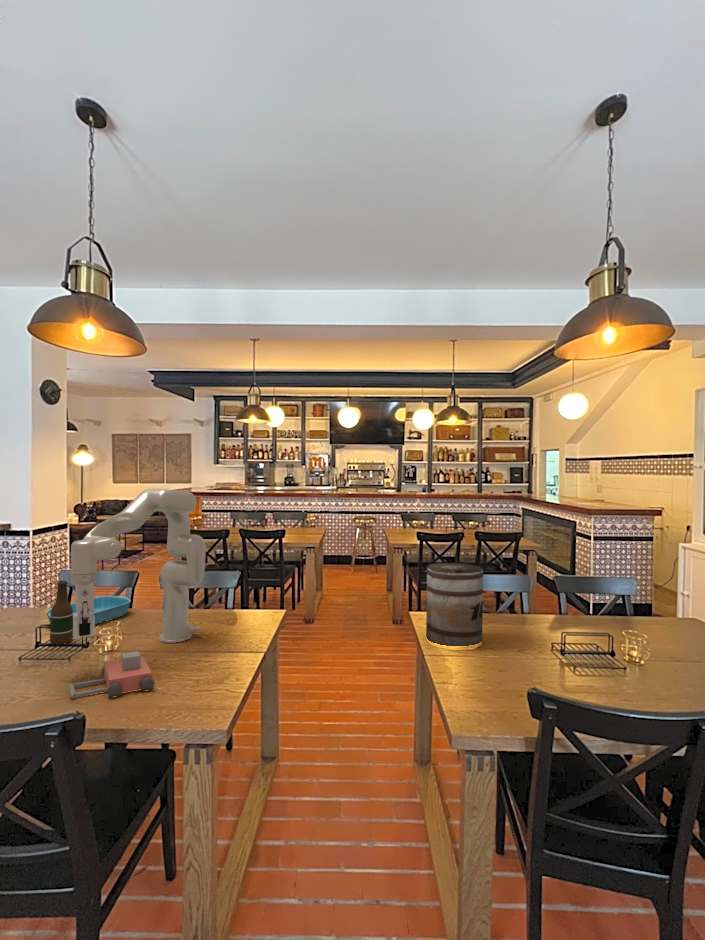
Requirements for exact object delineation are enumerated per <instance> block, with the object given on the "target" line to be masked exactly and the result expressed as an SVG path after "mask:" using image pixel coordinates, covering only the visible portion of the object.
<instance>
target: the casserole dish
mask: <svg viewBox="0 0 705 940" xmlns="http://www.w3.org/2000/svg"><path fill="white" fill-rule="evenodd" d="M131 602H132V599H129V598H128V597H127V596H122V595H120V596H119V595H102V596H101V595H100V596H96V597H95V596H94V613H92V612H91V613H90V611H89V613H90V614H94V617H95V626H96V624H97V625H99V624H98V623H100V622H103V621H106V620H110V619H113V618H116V619H118V618H117V617H119V618H121V617H122V616H124V615H126V613H127V612H128V611H129V608H130V605H131ZM70 604H71V606H72V609H73V613H77V608H76V601H75V602H72V603H70ZM51 609H52V608H50V609H48V610H46V612H45V613H46V615H47V618H48V621H49V622H50V614H51ZM120 616H121V617H120ZM113 620H114V619H113ZM110 621H111V620H110ZM103 623H104V622H103ZM100 624H101V623H100Z"/></svg>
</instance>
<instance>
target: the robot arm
mask: <svg viewBox="0 0 705 940" xmlns="http://www.w3.org/2000/svg"><path fill="white" fill-rule="evenodd" d="M197 503H198V502H197V497H196V496H195V495H194V494H193V493H192V492H190V491H181V490H174V489H168V488H167V489H165V488H147V489H144V490H143V491H141V492H140V493H139V494H138V495H137V496H136V497H135V498H134V499H133V500H132V501H131V502H130V503H129V504H128V505H127V506H126V507H125V508H124V509H123V510H121V512H119V513H117V514H115V515H113V516H111V517H109V518H108V519H105V520H104V521H102V522H100V523H98V524H96V526H95V527H94V526H93V528H92V529H91V530H90V531H89V532H88V533H87V534H86V535H85V536H84V537H83V539H80V540H79V539H78V540H75V541H73V542H72V543H71V545H70V583H71V585H75V586H74V588H75V591H74V597H75V598H74V600H75V602H76V608H77V613H78V614H79V615H80V624H79V636H85V635H90V618H89V614H90V613H91V612H92V613H94V598H95V589H94V588H95V587H94V586H95V585H94V584H95V583H96V582H97V580H98V579H97V577H98V576H97V574H98V573H97V569H98V568H97V567H98V566H97V564H98V563H97V562H98V561H105V560H113V559H115V558H117V557H118V556H119V555H120V554H121V553H122V548H123V547H122V543H121V542H120V540H118V539H117V538H114V537H116V536H119V535H122V534H126V533H130V532H133V531H135V530H138V529H140V528H141V527H142V526H143V525H144V524H145V522H146V521H147V520H148V519H150V517H151V516H152V515H153V514H154V513H155V512H162V513H163V514H164V515H165V517H166V519H167V527H168V528H167V540H166V541H167V543H166V550H167V553H168V554H169V556H172V557H176V558H183V559H184V558H186V560H181V559H180V560H179V559H172V560H168V561H167V562H165V563H164V564H163V565H162V567H161V571H160V573H161V574H160V575H161V580H162V586H163V606H162V607H163V615H162V616H163V617H162V618H163V619H162V621H163V622H162V624H163V625H162V633H161V634H159V636H158V640H159V641H160V642H161V643H166V644H167V643H169V644H175V643H176V642H177V643H182V641H183V642H186V641H188V640H190V639H191V638H192V636H193V635H192V633H193V632H200V631H201V626H195V625H193V626H192V625H190V626H189V591H188V587H196V586H199V585H200V584H201V583H202V582H203V579H204V577H205V570H206V566H205V565H206V554H207V553H206V551H207V549H206V548H207V546H206V542H205V539H204V538H203V537H202V536H200V535H199V534H191V520H190V515H189V513H191V512H193V511H194V510H195V508H196V507H197ZM187 586H188V587H187ZM89 611H90V613H89ZM81 612H83V614H81ZM82 616H83V617H82ZM187 639H188V640H187ZM185 640H186V641H185Z"/></svg>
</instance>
